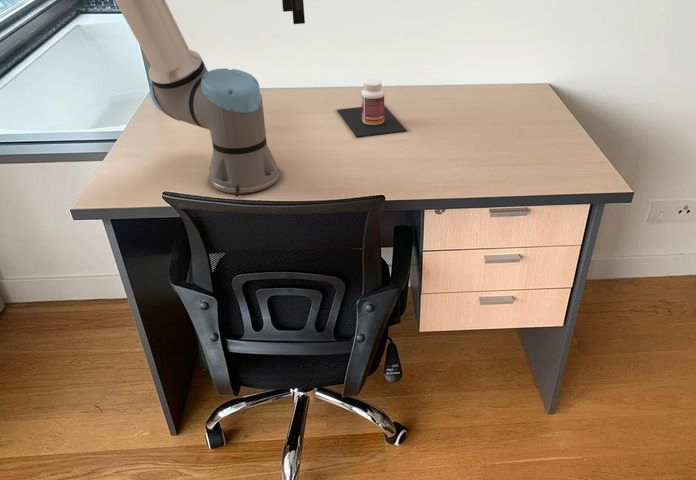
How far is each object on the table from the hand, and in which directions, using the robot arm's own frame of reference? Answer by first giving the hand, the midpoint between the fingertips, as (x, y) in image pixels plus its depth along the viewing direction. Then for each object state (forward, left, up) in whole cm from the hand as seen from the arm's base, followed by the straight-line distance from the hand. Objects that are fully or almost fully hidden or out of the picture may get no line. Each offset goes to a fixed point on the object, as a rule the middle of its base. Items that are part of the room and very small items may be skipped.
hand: (293, 17), depth 148 cm
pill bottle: (-9, -18, -26) cm, 33 cm away
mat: (-7, -18, -27) cm, 33 cm away
